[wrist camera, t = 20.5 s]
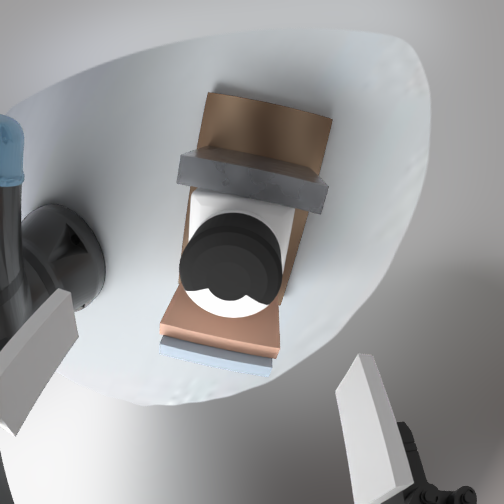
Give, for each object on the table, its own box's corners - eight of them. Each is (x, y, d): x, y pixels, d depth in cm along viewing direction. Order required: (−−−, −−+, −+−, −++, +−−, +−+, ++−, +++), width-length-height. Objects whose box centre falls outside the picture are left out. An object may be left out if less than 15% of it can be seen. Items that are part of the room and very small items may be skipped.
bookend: (203, 165, 27) (176, 183, 19) (207, 145, 27) (180, 154, 18) (305, 187, 28) (320, 214, 20) (310, 167, 27) (328, 186, 19)
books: (188, 280, 33) (156, 353, 22) (191, 261, 32) (156, 330, 21) (271, 298, 33) (272, 377, 22) (277, 279, 32) (280, 357, 21)
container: (209, 174, 28) (167, 212, 16) (289, 184, 28) (305, 231, 16) (204, 246, 31) (167, 321, 19) (276, 256, 31) (280, 338, 19)
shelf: (181, 277, 34) (178, 283, 33) (210, 93, 26) (207, 92, 24) (279, 298, 35) (280, 305, 34) (329, 119, 26) (332, 119, 25)
